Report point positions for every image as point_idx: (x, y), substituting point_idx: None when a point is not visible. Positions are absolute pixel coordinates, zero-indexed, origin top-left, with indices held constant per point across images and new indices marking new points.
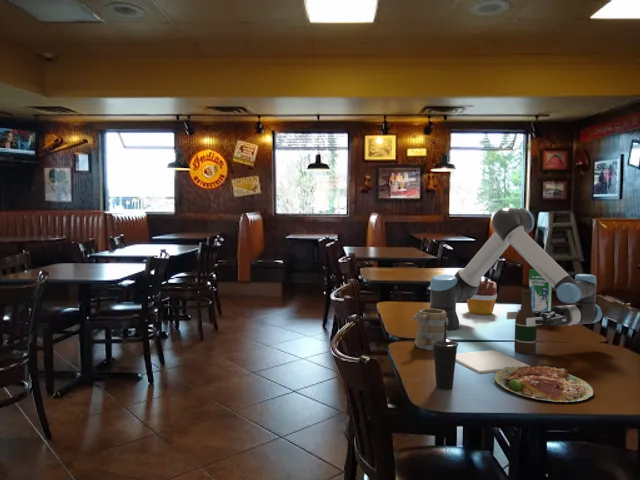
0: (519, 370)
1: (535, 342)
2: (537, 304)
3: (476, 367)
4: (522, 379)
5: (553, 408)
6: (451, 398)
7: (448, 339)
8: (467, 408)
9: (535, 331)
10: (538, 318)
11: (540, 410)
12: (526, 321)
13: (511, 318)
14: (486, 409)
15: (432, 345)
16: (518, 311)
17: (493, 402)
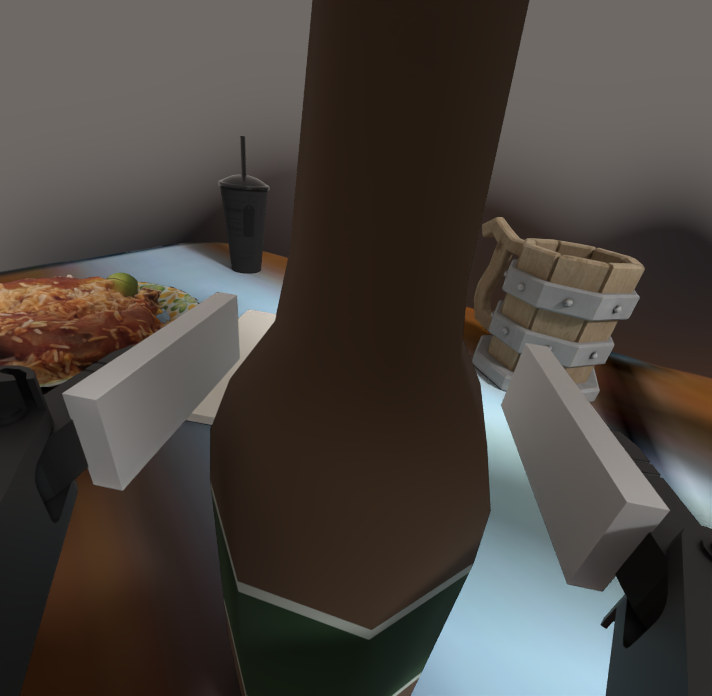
0: (133, 308)
1: (234, 652)
2: None
3: (272, 318)
4: (102, 280)
5: (12, 281)
6: (207, 257)
7: (237, 175)
8: (167, 251)
9: (223, 563)
10: (127, 361)
11: (43, 272)
12: (236, 325)
13: (514, 428)
14: (140, 255)
15: (482, 339)
16: (629, 462)
17: (141, 265)
